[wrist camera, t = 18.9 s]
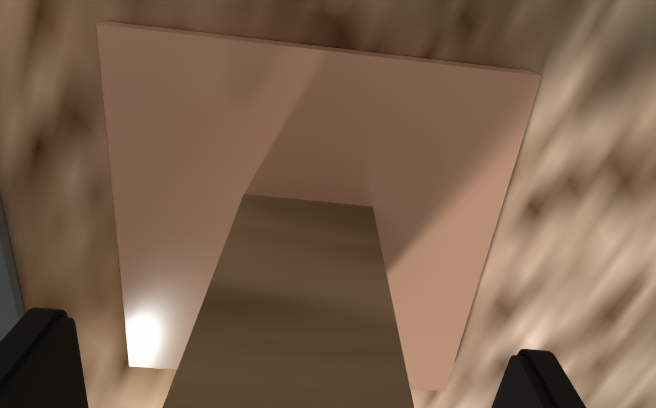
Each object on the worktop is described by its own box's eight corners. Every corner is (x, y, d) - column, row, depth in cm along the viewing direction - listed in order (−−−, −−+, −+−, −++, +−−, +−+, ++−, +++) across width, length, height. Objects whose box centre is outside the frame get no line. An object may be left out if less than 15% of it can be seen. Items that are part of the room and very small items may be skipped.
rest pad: (440, 375, 19) (445, 391, 18) (137, 350, 18) (129, 365, 17) (530, 70, 14) (541, 76, 13) (108, 21, 13) (95, 23, 12)
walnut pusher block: (355, 308, 16) (391, 719, 7) (240, 298, 16) (129, 710, 7) (372, 206, 15) (449, 580, 6) (243, 193, 14) (104, 559, 5)
